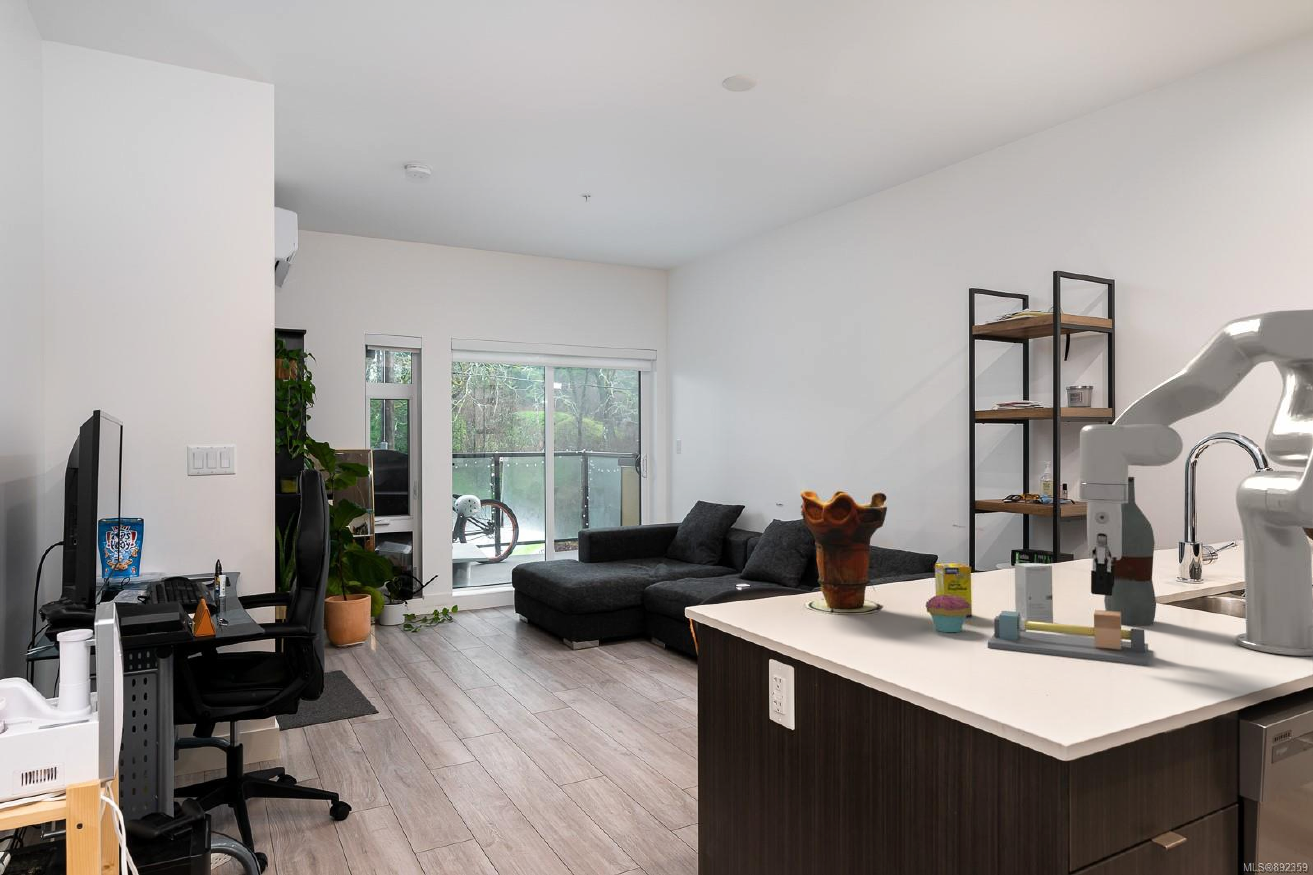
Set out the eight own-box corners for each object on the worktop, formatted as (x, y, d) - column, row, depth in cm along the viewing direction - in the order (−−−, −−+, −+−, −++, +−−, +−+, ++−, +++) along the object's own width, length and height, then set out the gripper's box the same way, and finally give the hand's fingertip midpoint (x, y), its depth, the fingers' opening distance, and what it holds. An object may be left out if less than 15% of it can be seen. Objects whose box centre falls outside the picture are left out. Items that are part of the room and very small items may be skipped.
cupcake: (923, 632, 156) (922, 572, 156) (929, 623, 164) (928, 566, 164) (969, 636, 152) (968, 574, 152) (974, 627, 160) (972, 568, 160)
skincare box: (1027, 625, 161) (1025, 566, 161) (1014, 621, 165) (1013, 563, 165) (1054, 624, 161) (1053, 565, 162) (1041, 619, 166) (1040, 562, 166)
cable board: (1148, 649, 141) (1147, 619, 141) (1148, 665, 131) (1147, 633, 131) (998, 633, 154) (997, 606, 154) (987, 647, 144) (987, 618, 144)
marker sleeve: (1121, 643, 140) (1120, 611, 140) (1121, 649, 136) (1120, 616, 136) (1095, 640, 142) (1095, 609, 142) (1094, 646, 138) (1093, 614, 138)
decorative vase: (903, 599, 188) (898, 482, 187) (875, 623, 168) (869, 493, 167) (820, 592, 199) (815, 482, 198) (784, 614, 179) (779, 492, 178)
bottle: (1142, 616, 167) (1139, 475, 167) (1166, 626, 158) (1162, 477, 158) (1096, 616, 168) (1093, 476, 168) (1117, 626, 159) (1113, 478, 159)
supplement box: (972, 617, 169) (971, 566, 169) (944, 618, 169) (943, 567, 169) (962, 612, 175) (961, 562, 175) (935, 612, 175) (934, 563, 175)
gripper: (1127, 497, 130) (1126, 600, 130) (1128, 492, 145) (1128, 586, 144) (1076, 495, 134) (1075, 595, 134) (1082, 491, 149) (1082, 581, 148)
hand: (1102, 590), depth 139 cm, fingers open, 9 cm apart
